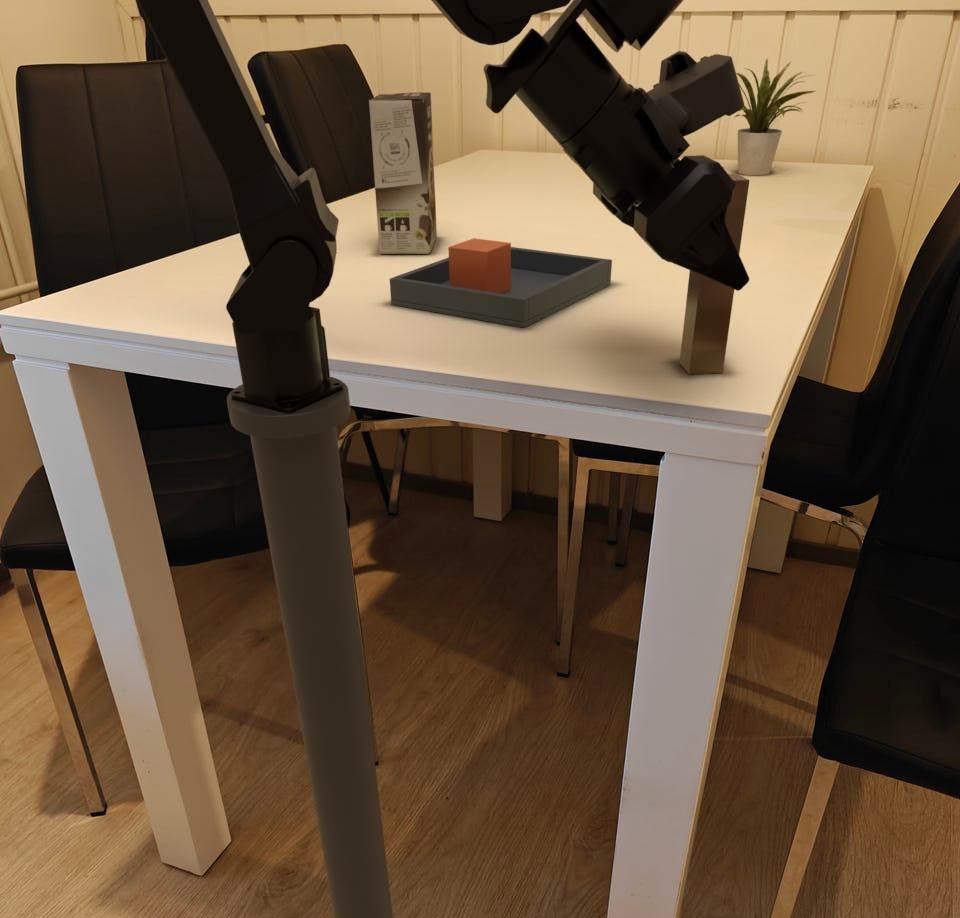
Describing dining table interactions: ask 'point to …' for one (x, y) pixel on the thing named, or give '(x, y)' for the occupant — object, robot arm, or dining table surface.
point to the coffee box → (404, 172)
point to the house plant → (762, 123)
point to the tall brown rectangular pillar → (712, 302)
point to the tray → (533, 295)
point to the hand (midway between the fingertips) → (723, 269)
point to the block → (481, 265)
